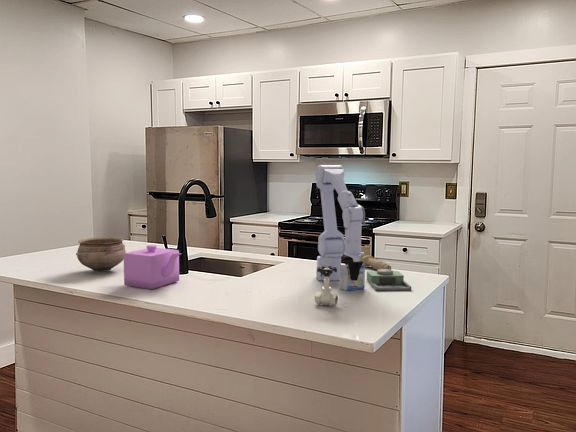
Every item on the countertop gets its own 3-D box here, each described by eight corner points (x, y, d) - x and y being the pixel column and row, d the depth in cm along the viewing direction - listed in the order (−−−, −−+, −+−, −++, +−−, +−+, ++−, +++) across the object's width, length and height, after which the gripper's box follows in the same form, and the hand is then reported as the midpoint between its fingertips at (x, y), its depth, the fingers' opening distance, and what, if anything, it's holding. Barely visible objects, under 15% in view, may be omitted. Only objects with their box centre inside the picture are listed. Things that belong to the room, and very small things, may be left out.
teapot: (167, 291, 177) (167, 251, 176) (114, 283, 188) (113, 245, 187) (194, 282, 190) (194, 245, 189) (143, 275, 202) (142, 240, 200)
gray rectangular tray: (375, 291, 179) (375, 286, 179) (370, 285, 188) (370, 281, 188) (411, 290, 180) (411, 286, 180) (404, 285, 188) (404, 281, 188)
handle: (395, 262, 210) (372, 254, 223) (382, 264, 207) (360, 256, 220) (394, 273, 211) (372, 265, 224) (382, 275, 208) (360, 267, 221)
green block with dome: (371, 285, 188) (371, 273, 187) (366, 280, 196) (366, 268, 195) (403, 285, 189) (403, 273, 188) (397, 280, 197) (397, 268, 196)
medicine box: (346, 291, 179) (346, 266, 178) (339, 288, 183) (339, 264, 182) (364, 288, 182) (365, 264, 181) (357, 286, 186) (358, 262, 185)
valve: (320, 301, 165) (320, 265, 164) (339, 304, 163) (340, 266, 162) (312, 306, 159) (313, 269, 158) (332, 309, 157) (333, 270, 156)
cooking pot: (107, 262, 227) (107, 235, 226) (140, 266, 219) (140, 238, 218) (60, 273, 205) (59, 242, 204) (95, 277, 197) (94, 246, 195)
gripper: (368, 243, 174) (367, 282, 175) (360, 237, 188) (359, 273, 190) (348, 243, 173) (347, 282, 175) (341, 237, 188) (340, 273, 189)
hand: (352, 278), depth 182 cm, fingers open, 6 cm apart
